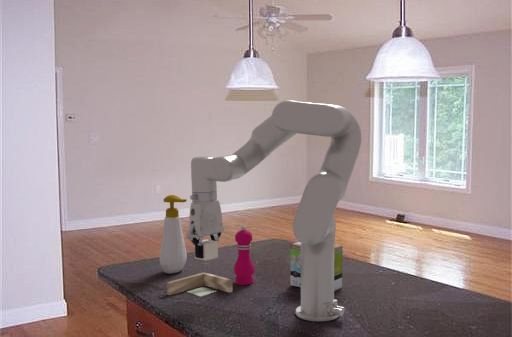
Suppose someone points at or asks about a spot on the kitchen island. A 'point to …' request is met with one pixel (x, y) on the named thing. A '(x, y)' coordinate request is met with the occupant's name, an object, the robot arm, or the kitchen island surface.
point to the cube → (209, 249)
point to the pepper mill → (244, 258)
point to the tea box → (296, 265)
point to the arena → (199, 284)
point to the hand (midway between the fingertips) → (206, 255)
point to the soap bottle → (172, 239)
